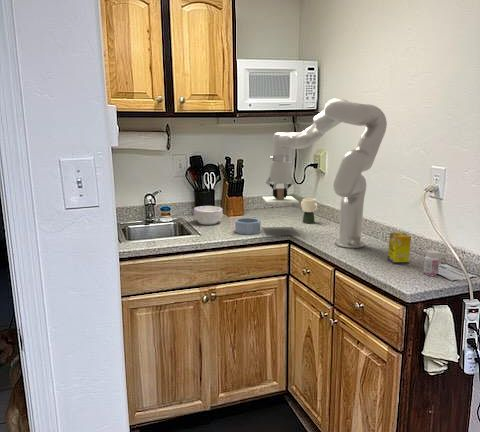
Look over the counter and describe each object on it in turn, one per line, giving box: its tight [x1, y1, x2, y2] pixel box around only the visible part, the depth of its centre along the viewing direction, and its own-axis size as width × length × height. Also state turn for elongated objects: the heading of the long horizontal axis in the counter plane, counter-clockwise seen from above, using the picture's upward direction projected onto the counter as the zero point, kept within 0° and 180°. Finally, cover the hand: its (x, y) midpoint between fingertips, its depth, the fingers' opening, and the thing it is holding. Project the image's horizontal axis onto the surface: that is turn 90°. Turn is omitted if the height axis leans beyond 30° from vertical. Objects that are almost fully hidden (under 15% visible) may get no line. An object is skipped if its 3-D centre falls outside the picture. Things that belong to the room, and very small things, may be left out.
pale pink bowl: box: [193, 205, 224, 226], centre depth 237 cm, size 15×15×8 cm
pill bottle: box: [423, 249, 440, 276], centre depth 159 cm, size 5×5×8 cm
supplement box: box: [387, 232, 412, 265], centre depth 173 cm, size 6×6×11 cm
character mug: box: [300, 197, 319, 224], centre depth 238 cm, size 11×7×13 cm, turn 43°
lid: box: [261, 187, 300, 205], centre depth 216 cm, size 15×15×6 cm
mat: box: [260, 226, 301, 236], centre depth 219 cm, size 16×16×1 cm
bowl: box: [234, 217, 262, 236], centre depth 217 cm, size 12×12×6 cm
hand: (279, 197), depth 216 cm, fingers closed on lid, 4 cm apart
